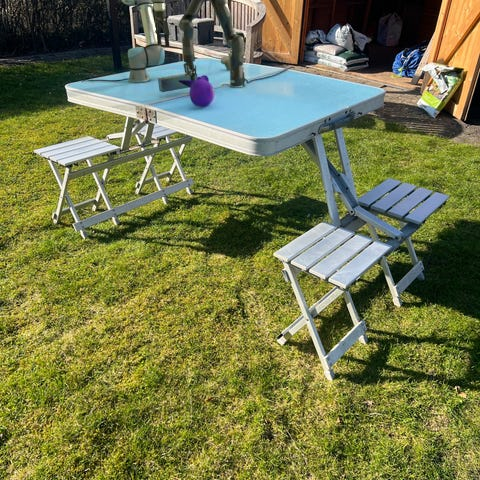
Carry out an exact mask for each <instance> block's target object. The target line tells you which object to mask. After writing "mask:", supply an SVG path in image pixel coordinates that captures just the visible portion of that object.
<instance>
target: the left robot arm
mask: <svg viewBox="0 0 480 480" xmlns="http://www.w3.org/2000/svg"><path fill="white" fill-rule="evenodd" d="M120 1H121V3H122V4H124V5H126V6H130V7H137V10H138V11H139V12H140V17H141V22H142V26H143V32H144V37H145V43H146V44H145V46H144V47H143V46H137V47H132V48H130V49H127V58H128V64H129V65H128V66H129V76H128V78H127V77H126V78H122V79H83V80H82V83H84V82H86V81H88V82H122V81H128V82H129V83H133V84H141V83H148V82H150V75H149V74H148V71H147V66H159V65H163V64H164V62H165V48H166V47H170V35H171V33H170V29H169V24H168V20H167V18H166V17H167V11H166V6H167V5H166V0H120ZM153 10H154V12H153ZM153 13H154V14H153ZM154 17H155V18H154ZM161 30H162V31H163V37H164V46H165V48H164V47H162V46H161V45H162V43H163V42H162V33H161ZM83 81H84V82H83ZM88 130H90V128H88Z"/></svg>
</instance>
